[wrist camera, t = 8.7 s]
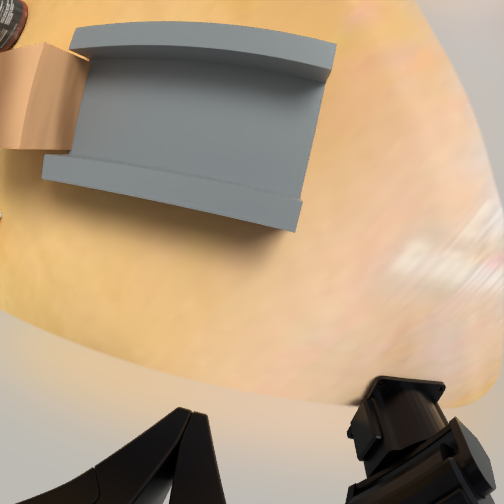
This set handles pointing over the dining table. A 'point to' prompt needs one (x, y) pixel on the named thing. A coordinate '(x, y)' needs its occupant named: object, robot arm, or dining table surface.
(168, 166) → the chute
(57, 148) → the block
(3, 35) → the supplement bottle
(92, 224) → the dining table surface
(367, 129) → the dining table surface
